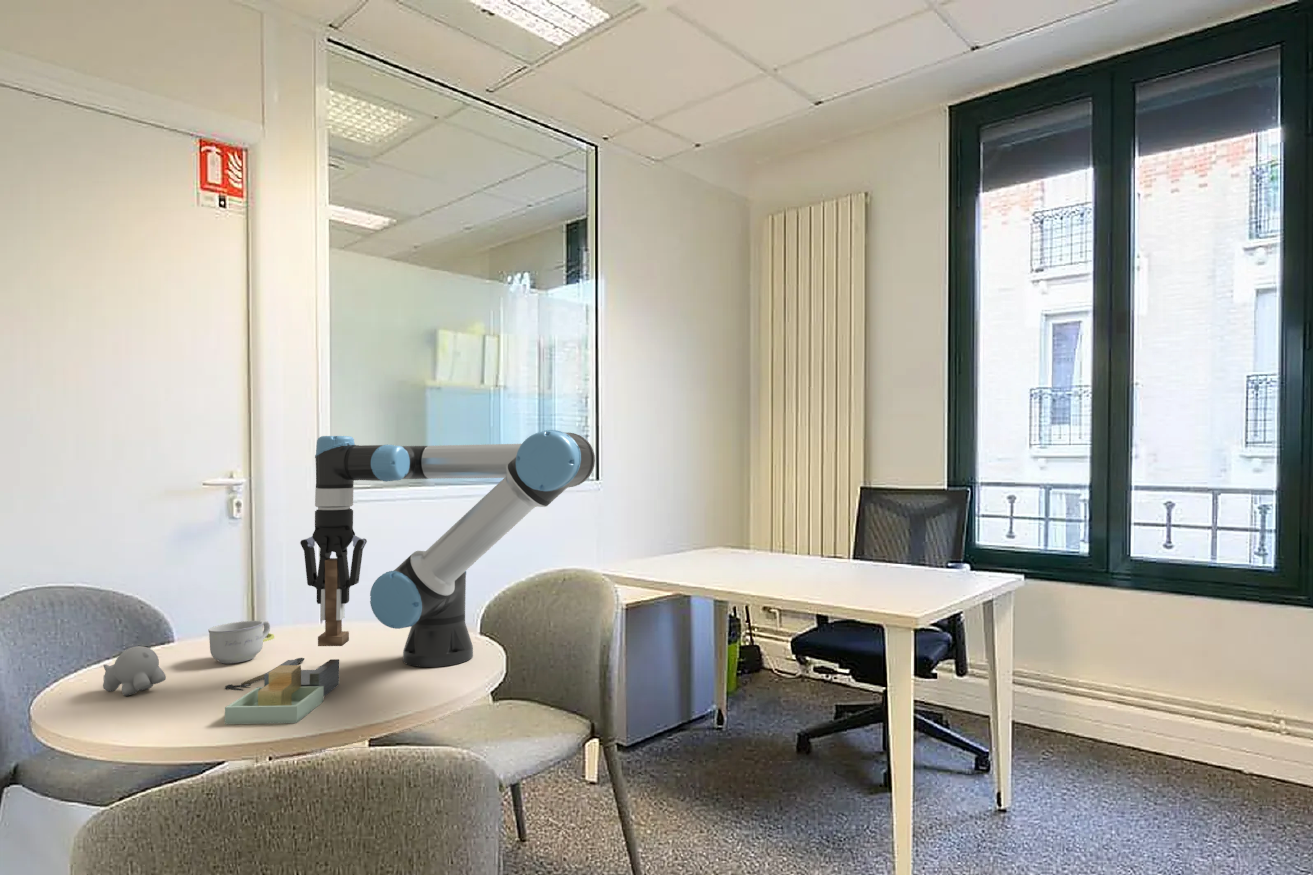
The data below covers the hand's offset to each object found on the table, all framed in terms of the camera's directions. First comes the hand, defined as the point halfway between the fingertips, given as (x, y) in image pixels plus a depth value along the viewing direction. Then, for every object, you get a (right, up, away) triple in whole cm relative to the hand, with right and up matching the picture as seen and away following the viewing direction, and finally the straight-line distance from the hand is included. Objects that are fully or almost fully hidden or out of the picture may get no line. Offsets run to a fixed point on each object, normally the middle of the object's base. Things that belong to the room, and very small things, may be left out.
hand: (332, 618), depth 161 cm
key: (-33, -13, +29) cm, 45 cm away
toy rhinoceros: (-33, -11, -14) cm, 38 cm away
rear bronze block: (+1, -8, -23) cm, 24 cm away
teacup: (-24, -12, +10) cm, 29 cm away
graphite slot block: (+1, -11, -15) cm, 19 cm away
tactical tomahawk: (-11, -12, -3) cm, 16 cm away
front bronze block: (+1, -8, -25) cm, 26 cm away
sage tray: (+1, -10, -27) cm, 28 cm away
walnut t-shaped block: (0, -5, +1) cm, 5 cm away
